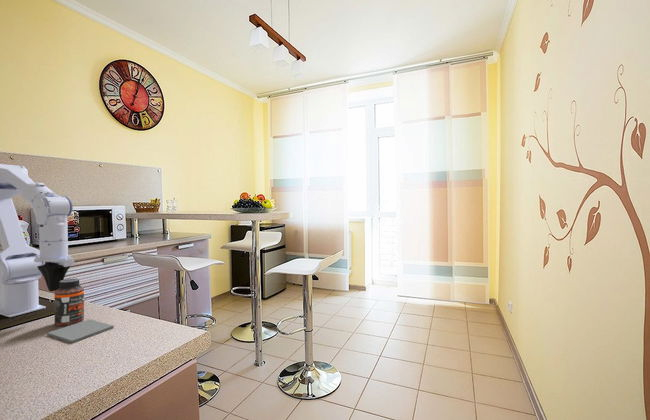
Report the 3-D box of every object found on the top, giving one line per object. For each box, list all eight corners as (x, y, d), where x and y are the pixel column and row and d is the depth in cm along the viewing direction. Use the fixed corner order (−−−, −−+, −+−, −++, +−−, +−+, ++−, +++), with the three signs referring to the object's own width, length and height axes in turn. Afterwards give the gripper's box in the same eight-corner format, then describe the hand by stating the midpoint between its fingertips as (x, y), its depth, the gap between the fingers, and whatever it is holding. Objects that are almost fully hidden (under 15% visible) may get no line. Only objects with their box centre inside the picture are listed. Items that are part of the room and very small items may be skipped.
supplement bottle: (71, 327, 76) (70, 283, 75) (48, 327, 76) (47, 283, 75) (90, 318, 82) (89, 277, 81) (68, 317, 82) (68, 277, 81)
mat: (47, 335, 71) (47, 332, 71) (89, 321, 79) (89, 319, 79) (72, 343, 67) (72, 340, 67) (113, 327, 76) (113, 325, 76)
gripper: (20, 240, 80) (21, 290, 80) (50, 244, 74) (51, 298, 75) (52, 237, 86) (53, 284, 87) (82, 240, 81) (83, 290, 81)
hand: (54, 290), depth 81 cm, fingers closed
